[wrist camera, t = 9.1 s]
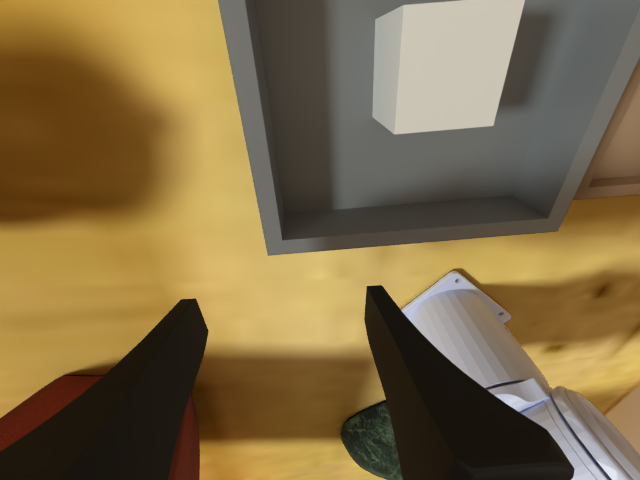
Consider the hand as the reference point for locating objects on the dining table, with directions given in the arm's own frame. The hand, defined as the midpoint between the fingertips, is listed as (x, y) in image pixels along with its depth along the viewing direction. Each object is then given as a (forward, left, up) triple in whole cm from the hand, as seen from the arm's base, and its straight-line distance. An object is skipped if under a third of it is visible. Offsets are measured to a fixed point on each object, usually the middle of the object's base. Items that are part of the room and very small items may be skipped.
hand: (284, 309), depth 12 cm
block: (0, -11, -9) cm, 14 cm away
